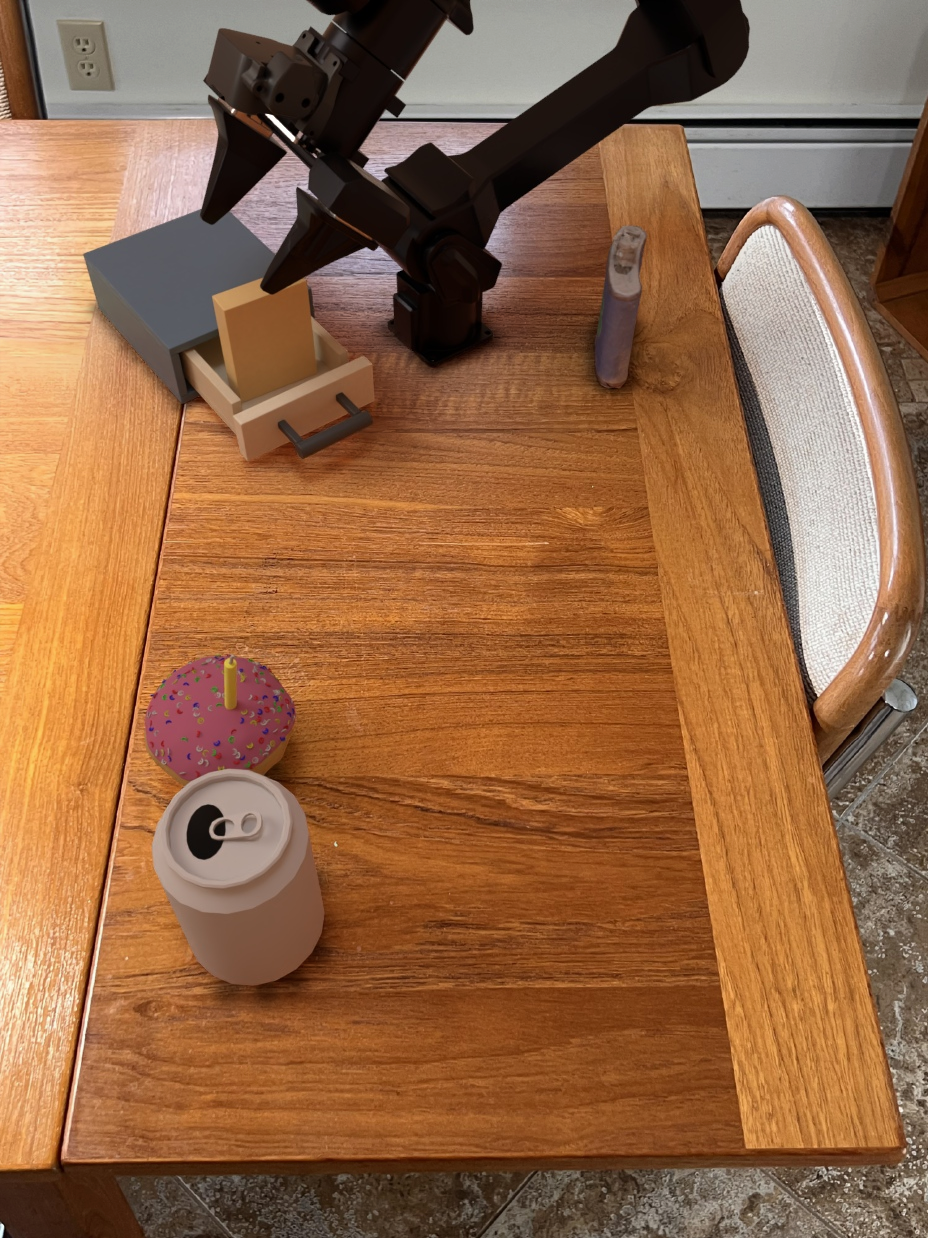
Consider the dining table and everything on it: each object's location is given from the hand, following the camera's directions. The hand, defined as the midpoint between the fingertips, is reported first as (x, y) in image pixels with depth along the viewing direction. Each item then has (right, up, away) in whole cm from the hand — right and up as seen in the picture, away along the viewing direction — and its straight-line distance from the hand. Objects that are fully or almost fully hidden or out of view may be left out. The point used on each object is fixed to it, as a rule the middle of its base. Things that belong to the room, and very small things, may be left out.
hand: (234, 255), depth 78 cm
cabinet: (-6, -1, +17) cm, 17 cm away
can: (+4, -42, -14) cm, 44 cm away
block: (+1, -6, +10) cm, 12 cm away
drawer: (+1, -8, +10) cm, 13 cm away
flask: (+28, -3, +15) cm, 32 cm away
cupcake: (+1, -33, -8) cm, 34 cm away
